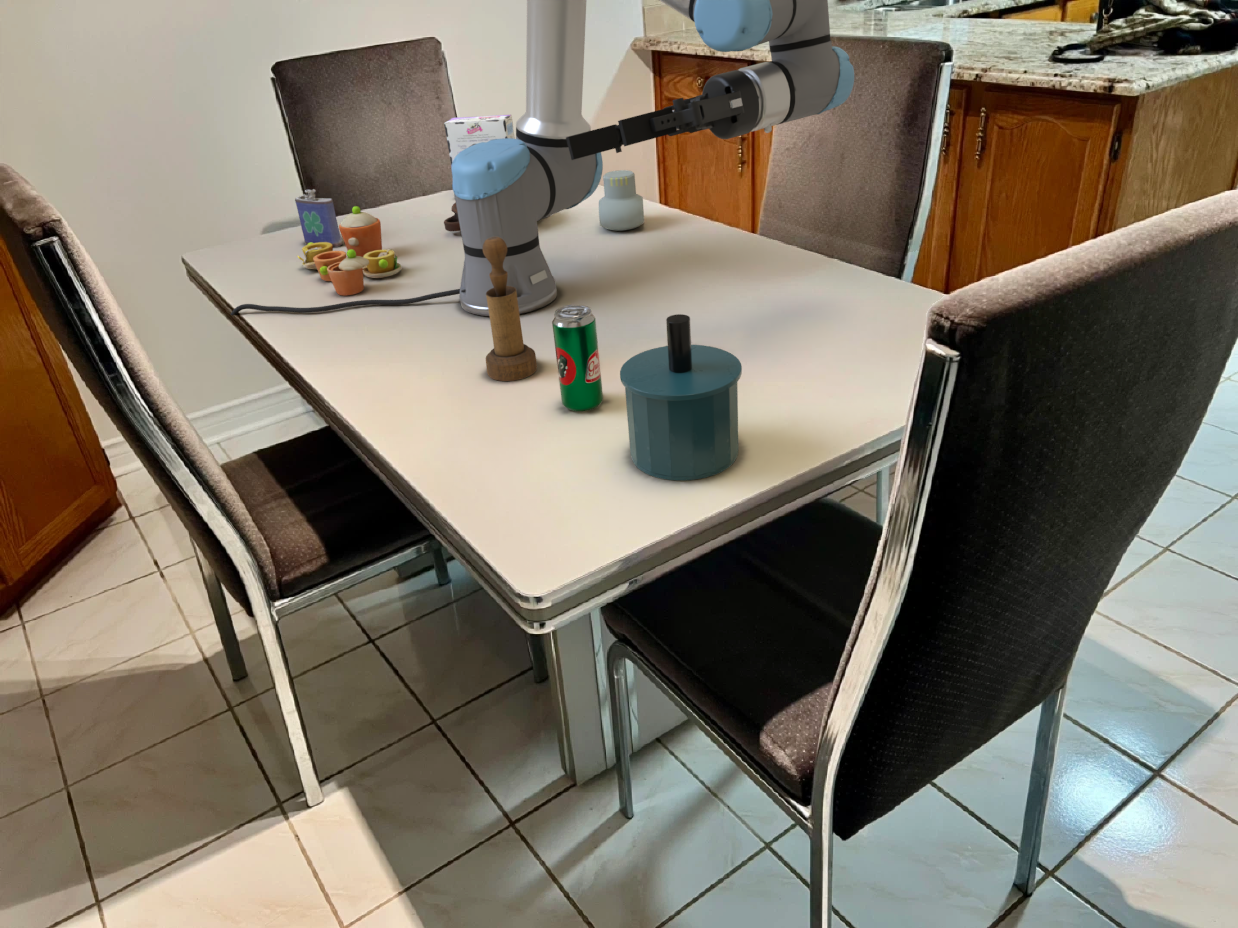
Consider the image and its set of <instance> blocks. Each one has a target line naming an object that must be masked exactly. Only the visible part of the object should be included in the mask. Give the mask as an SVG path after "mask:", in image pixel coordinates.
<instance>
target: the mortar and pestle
mask: <svg viewBox="0 0 1238 928" xmlns="http://www.w3.org/2000/svg"><path fill="white" fill-rule="evenodd" d="M483 253H484V255H485V257H486V258H487V260H488V261H489V262H490V264H491V266H492V271H491V273H490V274H489V276H490V279H491V282H492V284H493V286H494V288H492V289H490V290H488V291H487V292H486V298H487V304H488V310H489V316H488V317H489V321H490V329H491V335H492V343H493V348H491V350H490V351H489V352H488V353H487V354H486V355H485V365H486V366H485V367H486V373H487V375H488V377H489V378H490V379H492V380H495V381H500V382H511V381H520V380H522V379H523V380H524V379H526V378H528V377H530V376H532V375H533V374H535V373H536V372H537V370H538V362H537V355H536V351H535V350H534V349H533V348H532V347H530V346H528V345H527V344H525V343H524V337H523V329H522V324H521V316H520V315H521V314H519V307H518V300H517V292H516V288H514V287H512V286H506V285H507V276H508V274H507V271H505V270H504V269H503V262H504V259H505V257H506V254H507V245H506V243H505V241H504V240H503V239H502V238H500V237H491V238H488V239H487V240H485V242H484V244H483Z"/></svg>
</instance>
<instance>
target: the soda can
mask: <svg viewBox="0 0 1238 928" xmlns="http://www.w3.org/2000/svg"><path fill="white" fill-rule="evenodd" d="M553 315H554V318H553V319H552V321H551V324H552V332H553V333H552V334H553V340H554V341H553V342H554V349H555V357H556V365H557V367H556V368H557V374H558V383H559V392H560V399H561V404H562V406H564V407H565V408H566V409H567V410H569V411H571V412H576V413H582V412H589V411H592V410H595V409H597V408H599V406H600V405H601V404H602V402H603V400H604V393H603V392H604V391H603V382H602V373H601V372H602V371H601V362H600V361H601V360H600V353H599V351H600V350H599V340H598V330H597V320H596V316H595V315H594V313H592V308H591V307H589V306H586V305H584V304H583V305H582V304H573V305H572V304H571V305H566V306H562V307H560V308H558V309H556V310H555V311H554V314H553Z"/></svg>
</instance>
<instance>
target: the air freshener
mask: <svg viewBox="0 0 1238 928" xmlns="http://www.w3.org/2000/svg"><path fill="white" fill-rule="evenodd" d="M602 178H603V180H602V181H603V192H604V193H603V194H604V195H603V197H601V198H600V199H599V200H598V220H599V226H601V227H602V228H605V229H607V230H609V231H618V232H622V231H623V232H624V231H629V230H634V229H637V228H638V227H640V226H641V225H644V223H645V211H644V198H643V197H644V196H642V195H640V194H638V193H637V188H636V187H637V185H636V174H635V172H633V171H632V170H628V169H627V170H626V169H620V170H613V171H612V170H611V171H608V172H605V173H604V174H603V175H602Z"/></svg>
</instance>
